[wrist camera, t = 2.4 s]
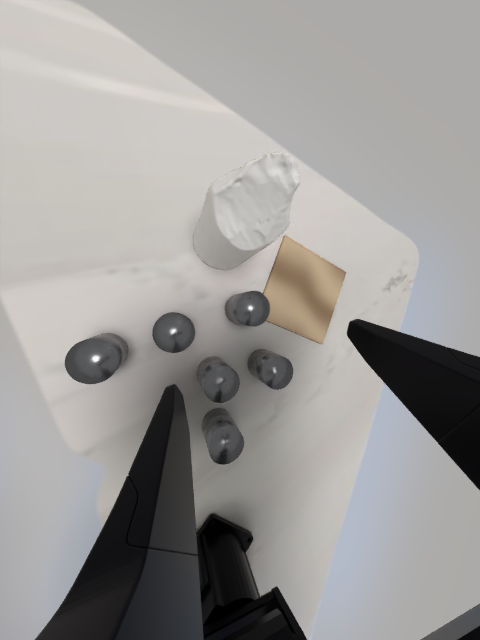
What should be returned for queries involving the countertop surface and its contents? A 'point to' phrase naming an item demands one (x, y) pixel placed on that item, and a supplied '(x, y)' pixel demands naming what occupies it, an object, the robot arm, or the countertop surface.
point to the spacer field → (213, 373)
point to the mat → (302, 290)
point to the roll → (246, 210)
